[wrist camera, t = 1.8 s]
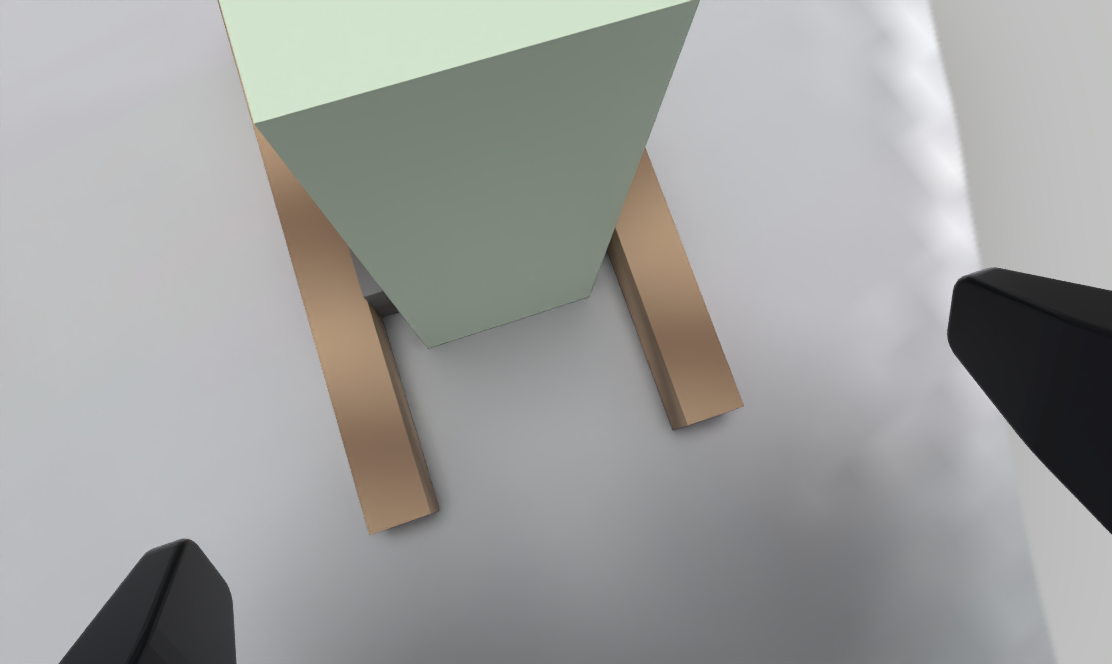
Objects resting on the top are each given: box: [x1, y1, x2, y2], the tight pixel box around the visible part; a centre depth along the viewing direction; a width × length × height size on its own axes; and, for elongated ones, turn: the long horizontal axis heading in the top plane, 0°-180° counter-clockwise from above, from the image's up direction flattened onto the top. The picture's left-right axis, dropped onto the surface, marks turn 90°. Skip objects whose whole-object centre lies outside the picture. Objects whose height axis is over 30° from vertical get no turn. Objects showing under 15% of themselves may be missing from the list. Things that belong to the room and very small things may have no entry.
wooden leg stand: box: [218, 0, 744, 535], centre depth 21 cm, size 16×10×2 cm, turn 19°
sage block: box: [219, 0, 700, 348], centre depth 15 cm, size 5×5×14 cm
